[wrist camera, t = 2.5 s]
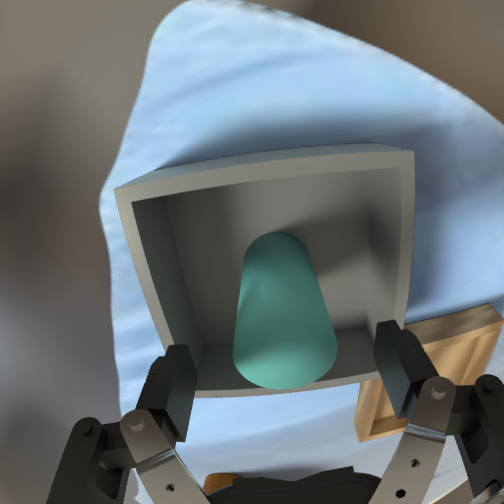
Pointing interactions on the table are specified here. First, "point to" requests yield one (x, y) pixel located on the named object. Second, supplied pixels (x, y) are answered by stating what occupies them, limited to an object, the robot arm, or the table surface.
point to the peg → (281, 316)
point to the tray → (444, 360)
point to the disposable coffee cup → (218, 481)
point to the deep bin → (267, 221)
